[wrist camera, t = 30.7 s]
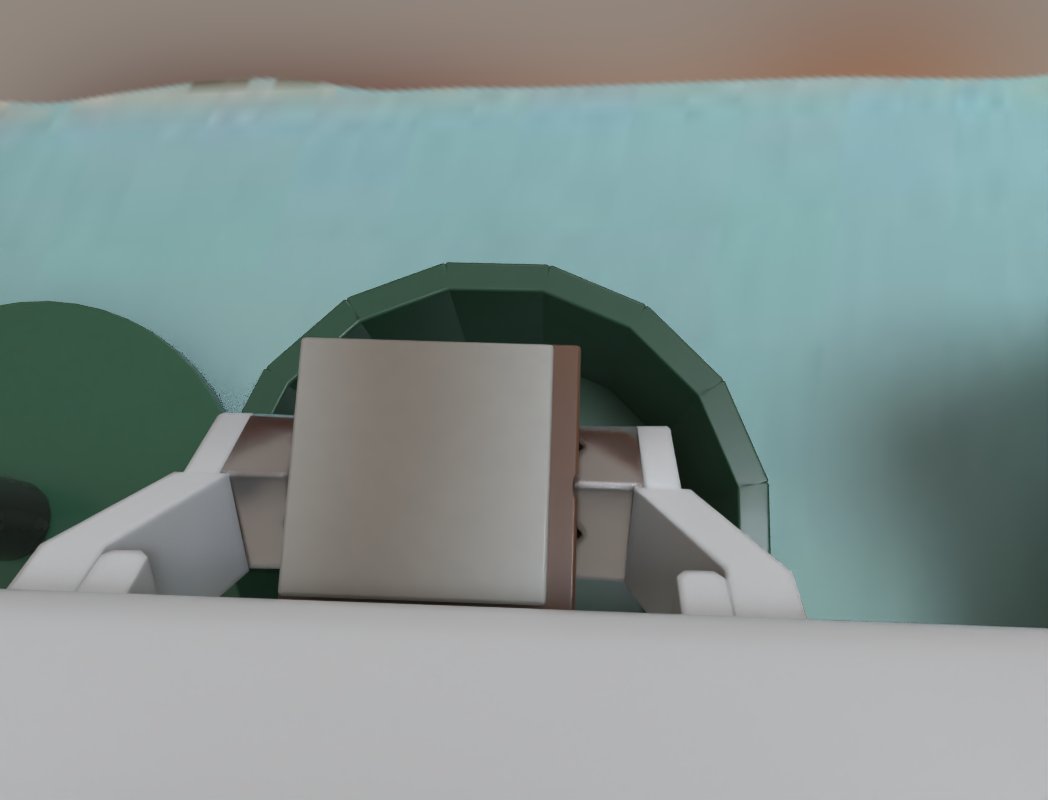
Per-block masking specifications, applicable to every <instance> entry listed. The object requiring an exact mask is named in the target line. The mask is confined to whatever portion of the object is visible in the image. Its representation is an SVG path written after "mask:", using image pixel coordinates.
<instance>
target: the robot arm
mask: <svg viewBox="0 0 1048 800" xmlns="http://www.w3.org/2000/svg"><path fill="white" fill-rule="evenodd" d="M293 423H294V415H277V414H258V413H256V414H253V413H231V412H224V413H222V414H219V415H218V416H217V418H216V419H215V421H214V422H213V424H212V426H211V427H210V429H209V431H208V432H207V434H206V436H205V437H204V439H203V441H202V442H201V444H200V446H199V447H198V449H197V450H196V452H195V454H194V455H193V457H192V459H191V460H190V462H189V464H188V465H187V467H186V469H185V470H184V472H173V473H171V474H169V475H167V476H165V477H164V478H162V479H160V480H158V481H156V482H154V483H152V484H151V485H149V486H147V487H145V488H143V489H141V490H140V491H138V492H136V493H134V494H132V495H130V496H128V497H127V498H125V499H123V500H121V501H119V502H117V503H115V504H114V505H112V506H110V507H108V508H106V509H104V510H103V511H101V512H99V513H97V514H95V515H93V516H91V517H90V518H88V519H86V520H84V521H82V522H80V523H78V524H77V525H75V526H73V527H71V528H69V529H67V530H65V531H64V532H62V533H60V534H58V535H56V536H54V537H53V538H51V539H49V540H47V541H45V542H43V543H41V544H40V545H39V546H38V547H37V549H36V550H35V551H34V553H33V554H32V555H31V557H30V558H29V559H28V561H27V562H26V563H25V565H24V566H23V567H22V569H21V570H20V571H19V573H18V574H17V575H16V577H15V578H14V579H13V581H12V582H11V583H10V585H9V586H8V587H7V589H0V800H1048V628H1028V627H1002V626H976V625H950V624H924V623H898V622H872V621H846V620H820V619H807V617H806V614H805V611H804V608H803V604H802V601H801V598H800V595H799V592H798V589H797V585H796V582H795V579H794V576H793V573H792V572H791V571H790V570H789V569H787V568H786V567H785V566H784V565H783V564H781V563H780V562H779V561H778V560H776V559H775V558H774V557H773V556H772V555H770V554H769V553H768V552H767V551H765V550H764V549H763V548H762V547H760V546H759V545H758V544H757V543H756V542H754V541H753V540H752V539H751V538H749V537H748V536H747V535H746V534H745V533H743V532H742V531H741V530H740V529H738V528H737V527H736V526H735V525H733V524H732V523H731V522H730V521H729V520H727V519H726V518H725V517H724V516H722V515H721V514H720V513H719V512H718V511H716V510H715V509H714V508H713V507H711V506H710V505H709V504H708V503H706V502H705V501H704V500H703V499H702V498H700V497H699V496H698V495H697V494H695V493H694V492H693V491H692V490H690V489H681V484H680V479H679V474H678V468H677V463H676V458H675V452H674V447H673V442H672V436H671V431H670V429H669V428H668V427H667V426H636V427H624V426H579V453H578V473H577V475H574V497H576V498H577V541H576V579H582V580H598V581H614V582H624V585H625V586H626V587H627V589H628V590H629V591H630V592H631V594H632V595H633V596H634V598H635V599H636V600H637V601H638V603H639V604H640V605H641V606H642V608H643V609H644V610H645V612H646V613H635V612H608V611H582V610H555V609H528V608H501V607H474V606H448V605H421V604H394V603H368V602H341V601H315V600H288V599H262V598H235V597H220V596H221V595H222V594H223V593H224V592H226V591H227V590H228V589H229V588H230V587H231V586H232V585H234V584H235V583H236V582H237V581H238V580H239V579H241V578H242V577H243V576H244V575H245V574H246V573H248V572H249V568H261V569H280V563H281V552H282V541H283V531H284V520H285V509H286V499H287V488H288V477H289V466H290V456H291V445H292V434H293Z"/></svg>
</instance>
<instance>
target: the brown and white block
mask: <svg viewBox="0 0 1048 800" xmlns="http://www.w3.org/2000/svg"><path fill="white" fill-rule="evenodd" d="M580 366H581V349H580V347H579V346H577V345H546V344H513V343H480V342H446V341H413V340H380V339H347V338H314V337H305V338H302V341H301V348H300V359H299V370H298V380H297V391H296V402H295V413H294V423H293V434H292V445H291V456H290V466H289V477H288V488H287V499H286V509H285V520H284V531H283V541H282V552H281V563H280V574H279V584H278V593H279V595H278V599H288V600H315V601H341V602H368V603H394V604H421V605H448V606H474V607H501V608H528V609H555V610H575V584H576V541H577V498H576V497H574V475H577V473H578V453H579V409H580Z"/></svg>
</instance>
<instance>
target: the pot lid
mask: <svg viewBox="0 0 1048 800" xmlns="http://www.w3.org/2000/svg"><path fill="white" fill-rule="evenodd" d="M224 412H225V410H224V408H223V406H222V404H221V403H220V401H219V399H218V397H217V395H216V393H215V392H214V391H213V389H212V388H211V387H210V385H209V384H208V383H207V381H206V380H205V379H204V377H203V376H202V375H201V373H200V372H199V371H198V370H197V369H196V368H195V367H194V366H193V365H192V364H191V363H190V362H189V361H188V360H187V359H186V358H185V357H184V356H183V355H182V354H181V353H180V352H179V351H177V350H176V349H175V348H173V347H172V346H171V345H169V344H168V343H167V342H165V341H164V340H163V339H161V338H160V337H159V336H157V335H155V334H154V333H152V332H151V331H149V330H147V329H145V328H143V327H141V326H140V325H138V324H136V323H134V322H132V321H130V320H129V319H126V318H123V317H121V316H118V315H115V314H113V313H110V312H107V311H105V310H101V309H97V308H93V307H88V306H84V305H79V304H73V303H63V302H52V301H40V302H18V303H12V304H6V305H0V589H7V587H8V586H9V585H10V583H11V582H12V581H13V579H14V578H15V577H16V575H17V574H18V573H19V571H20V570H21V569H22V567H23V566H24V565H25V563H26V562H27V561H28V559H29V558H30V557H31V555H32V554H33V553H34V551H35V550H36V549H37V547H38V546H39V545H40V544H41V543H43V542H45V541H47V540H49V539H51V538H53V537H54V536H56V535H58V534H60V533H62V532H64V531H65V530H67V529H69V528H71V527H73V526H75V525H77V524H78V523H80V522H82V521H84V520H86V519H88V518H90V517H91V516H93V515H95V514H97V513H99V512H101V511H103V510H104V509H106V508H108V507H110V506H112V505H114V504H115V503H117V502H119V501H121V500H123V499H125V498H127V497H128V496H130V495H132V494H134V493H136V492H138V491H140V490H141V489H143V488H145V487H147V486H149V485H151V484H152V483H154V482H156V481H158V480H160V479H162V478H164V477H165V476H167V475H169V474H171V473H173V472H184V470H185V469H186V467H187V465H188V464H189V462H190V460H191V459H192V457H193V455H194V454H195V452H196V450H197V449H198V447H199V446H200V444H201V442H202V441H203V439H204V437H205V436H206V434H207V432H208V431H209V429H210V427H211V426H212V424H213V422H214V421H215V419H216V418H217V416H218V415H219V414H222V413H224Z"/></svg>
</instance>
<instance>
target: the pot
mask: <svg viewBox="0 0 1048 800" xmlns="http://www.w3.org/2000/svg"><path fill="white" fill-rule="evenodd" d="M305 337H314V338H347V339H380V340H413V341H446V342H480V343H513V344H546V345H577V346H579V347H580V349H581V366H580V409H579V426H624V427H636V426H667V427H668V428H669V429H670V431H671V436H672V442H673V447H674V452H675V458H676V463H677V468H678V474H679V479H680V484H681V489H690V490H692V491H693V492H694V493H695V494H697V495H698V496H699V497H700V498H702V499H703V500H704V501H705V502H706V503H708V504H709V505H710V506H711V507H713V508H714V509H715V510H716V511H718V512H719V513H720V514H721V515H722V516H724V517H725V518H726V519H727V520H729V521H730V522H731V523H732V524H733V525H735V526H736V527H737V528H738V529H740V530H741V531H742V532H743V533H745V534H746V535H747V536H748V537H749V538H751V539H752V540H753V541H754V542H756V543H757V544H758V545H759V546H760V547H762V548H763V549H764V550H765V551H767V552H768V553H769V554H770V555H771V549H770V511H769V484H768V483H767V482H768V479H767V476H766V474H765V472H764V469H763V467H762V465H761V463H760V460H759V458H758V456H757V454H756V451H755V449H754V447H753V444H752V442H751V440H750V438H749V435H748V433H747V431H746V429H745V426H744V424H743V422H742V419H741V417H740V415H739V413H738V410H737V408H736V406H735V404H734V401H733V399H732V397H731V394H730V392H729V390H728V388H727V385H726V383H725V382H724V381H723V379H722V378H721V377H720V376H719V375H718V374H717V373H716V372H715V371H714V370H713V369H712V368H711V367H710V366H709V365H708V364H707V363H706V362H705V361H704V360H703V359H702V358H701V357H700V356H699V355H698V354H697V353H696V352H695V351H694V350H693V349H692V348H690V347H689V346H688V345H687V344H686V343H685V342H684V341H683V340H682V339H681V338H680V337H679V336H678V335H677V334H676V333H675V332H674V331H673V330H672V329H671V328H670V327H669V326H668V325H667V324H666V323H665V322H664V321H663V320H662V319H661V318H660V317H659V316H658V315H657V314H656V313H655V312H654V311H653V310H652V309H651V308H650V307H648V306H645V305H644V304H643V303H640V302H638V301H635V300H633V299H631V298H628V297H626V296H624V295H621V294H619V293H616V292H614V291H612V290H609V289H607V288H604V287H602V286H600V285H597V284H595V283H592V282H590V281H588V280H585V279H583V278H580V277H578V276H576V275H573V274H571V273H568V272H566V271H564V270H561V269H559V268H557V267H554V266H550V267H549V266H548V265H541V264H496V263H451V262H448V263H446V264H439V265H437V266H434V267H431V268H428V269H425V270H423V271H420V272H417V273H414V274H412V275H409V276H406V277H403V278H401V279H398V280H395V281H392V282H390V283H387V284H384V285H381V286H378V287H376V288H373V289H370V290H367V291H365V292H362V293H359V294H356V295H354V296H351V297H349V298H347V300H343V301H342V302H341V303H340V304H339V305H338V306H336V307H335V308H334V309H333V310H332V311H331V312H330V313H328V314H327V315H326V316H325V317H324V318H323V319H322V320H320V321H319V322H318V323H317V324H316V325H315V326H313V327H312V328H311V329H310V330H309V331H308V332H307V333H305V334H304V335H303V336H302V337H301V338H300V339H298V340H297V341H296V342H295V343H294V344H293V345H292V346H290V347H289V348H288V349H287V350H286V351H285V352H283V353H282V354H281V355H280V356H279V357H278V358H277V359H275V360H274V361H273V362H272V363H271V364H270V365H268V367H267V369H264V371H263V373H262V374H261V376H260V378H259V380H258V382H257V384H256V386H255V388H254V390H253V391H252V393H251V395H250V397H249V399H248V401H247V403H246V405H245V407H244V408H243V410H242V412H241V413H253V414H256V413H258V414H277V415H294V413H295V402H296V391H297V380H298V370H299V359H300V348H301V341H302V338H305ZM279 574H280V569H261V568H249V572H248V573H246V574H245V575H244V576H243V577H242V578H241V579H239V580H238V581H237V582H236V583H235V584H234V585H232V586H231V587H230V588H229V589H228V590H227V591H226V592H224V593H223V594H222V595H221V596H220V597H235V598H262V599H278V595H279V593H278V584H279ZM575 610H582V611H608V612H635V613H646V612H645V610H644V609H643V608H642V606H641V605H640V604H639V603H638V601H637V600H636V599H635V598H634V596H633V595H632V594H631V592H630V591H629V590H628V589H627V587H626V586H625V585H624V582H614V581H598V580H582V579H576V584H575Z"/></svg>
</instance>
